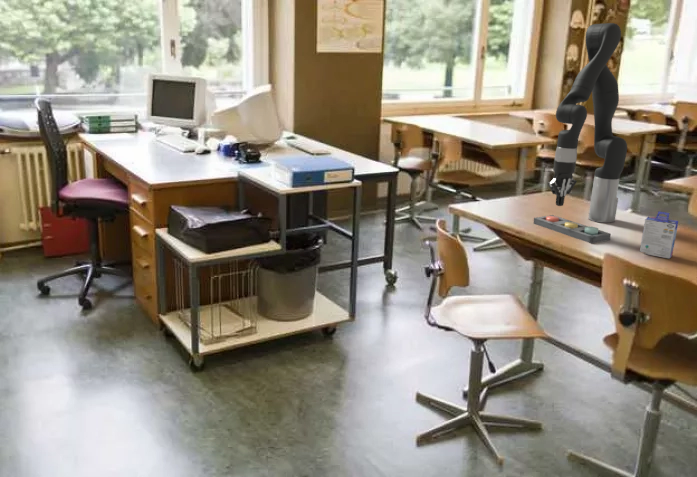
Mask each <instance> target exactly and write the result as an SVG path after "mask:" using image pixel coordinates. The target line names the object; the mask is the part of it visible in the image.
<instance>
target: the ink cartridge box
mask: <svg viewBox="0 0 697 477" xmlns="http://www.w3.org/2000/svg"><path fill="white" fill-rule="evenodd" d="M662 215H665V216H662ZM669 218H670V213H669V212H665V211H657V214H656V216H655V217H654V216H647V217H646V218H645V220H644V224H643V226H644V227H643V231H642V236H641V242H640V249H639V252H641V253H642V255H643V254H644V255H649V256H654V257H659V258H664V259H671V258H672V257H673V253H674V248H675V244H676V243H675V242H676V238H677V231H678V228H679V227H678V226H679V220H674V219H669Z"/></svg>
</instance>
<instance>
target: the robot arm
mask: <svg viewBox="0 0 697 477" xmlns="http://www.w3.org/2000/svg"><path fill="white" fill-rule="evenodd" d="M621 37H622V31H621V27H620V26H619V25H618V23H615V22H614V23H613V22H608V23H607V22H605V23H594V24H591V25H589V26H588V27H587V29H586V32H585V47H586V53H587V57H588V63H587V64H586V65H585V66H584V67H583V68H581V70H580V71H579V72H578V74H577V75H576V77H575V79H574V82H573V83H572V86H571V88H570V91H569V92H568V93H567V95H566V96H565V97H564V99H563V100H562V101H561V102H560V103H559V104H558V107H557V108H556V112H555V118H556V120H557V122H558V123H561V124H566V125H567V124H568V125H571V127H570V128H569V129H563V130H560V131H559V132H558V137H557V142H556V143H557V146H556V149H555V153H554V160H553V167H552V168H553V169H552V170H553V173H554V175H553V177H552V180H551V181H548V182H547V185H548V187H549V189H550V191H551V193H552V195H556V197H555V205H556V206H557V207H563V206H564V203H565V197H566V196H567V195H570V193H571V191H572V190H573V188H574V187H575V186H576V184H577V180H576V179H574V178H573V177H574V175H573V174H574V173H575V172H576V163H577V157H578V144H579V137H580V134H581V131H582V130H583V127H584V125H585V123H586V121H587V117H588V110H587V108H586V106H584V105H582V104H579V103H585V102H587V101H588V100H589V99H590V97H591V94H592V106H593V119H594V120H593V121H594V134H593V136H594V137H593V142H594V145H593V148H594V152H595V154H596V155H597V157H599V158H601V159H604V162H603V165H602V166H601V167H597V168H596V169H595V171H594V176H593V177H594V178H593V184H592V189H591V190H592V191H591V198H590V203H589V209H588V210H589V211H588V220H590V221H593V222H598V223H614V222H616V215H617V209H618V203H619V198H618V197H617V196H618V192H619V191H618V189H619V184H620V179H621V178H620V177H621V174H622V173H623V171H624V167H625V162H626V157H627V153H628V152H627V151H628V144H627V143H628V142H627V141H626V139H624V138H622V137H619V136H616V135H614V134H613V124H612V123H613V118H614V115H615V112H616V110H617V109H618V106H619V102H620V101H619V100H620V98H619V97H620V93H619V84H618V81H617V79H616V77H615V75H614V74H613V72H612V71H611V69H610V68H609V67H608V65H607V63H608V61H609V60H610V59H611V57H612V55H613V54H614V53H615V51H616V50H617V48H618V45H619V43H620V41H621Z"/></svg>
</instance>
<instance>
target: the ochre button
mask: <svg viewBox="0 0 697 477" xmlns="http://www.w3.org/2000/svg"><path fill="white" fill-rule="evenodd" d="M573 222H574V221H573ZM573 222H565V227H568V228H571V229H573V228H578V224H577V223H578V222H576V223H573Z"/></svg>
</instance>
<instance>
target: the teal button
mask: <svg viewBox="0 0 697 477" xmlns="http://www.w3.org/2000/svg"><path fill="white" fill-rule="evenodd" d="M587 226H588V225H587ZM598 230H599V228H598V227H596V226H590V225H589V226H588V227H585V230H584V233H586V234H589V235H597V234H598Z"/></svg>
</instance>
